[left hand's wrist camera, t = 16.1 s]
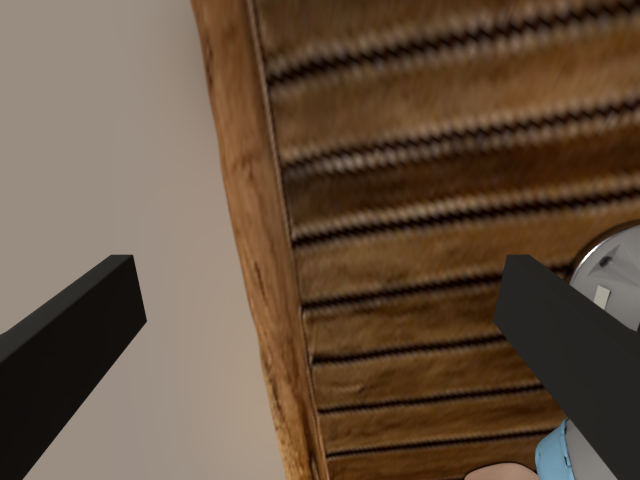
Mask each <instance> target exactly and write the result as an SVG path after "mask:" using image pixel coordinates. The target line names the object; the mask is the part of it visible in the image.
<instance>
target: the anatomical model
mask: <svg viewBox="0 0 640 480" xmlns="http://www.w3.org/2000/svg"><path fill="white" fill-rule="evenodd" d="M464 480H539V476H538V475H537V474H536V473H534V472H533V471H531V470H530V469H528V468H526V467H525V466H522V465H520V464H515V463H502V464H496V465H492V466H488V467H484V468H481V469H478V470H475V471H473V472H471V473H469V474H468V475H467V476H466V477H465V479H464Z"/></svg>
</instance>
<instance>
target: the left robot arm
mask: <svg viewBox="0 0 640 480" xmlns="http://www.w3.org/2000/svg"><path fill="white" fill-rule="evenodd" d="M146 322H147V319H146V314H145V310H144V305H143V300H142V295H141V291H140V286H139V281H138V276H137V272H136V267H135V262H134V258H133V255H110V256H109V257H107V258H106V259H105V260H103V261H102V262H101V263H99V264H98V265H96V266H95V267H94V268H92V269H91V270H90V271H88V272H87V273H86V274H84V275H83V276H82V277H80V278H79V279H77V280H76V281H75V282H73V283H72V284H71V285H69V286H68V287H67V288H65V289H64V290H62V291H61V292H60V293H58V294H57V295H56V296H54V297H53V298H52V299H50V300H49V301H47V302H46V303H45V304H43V305H42V306H41V307H39V308H38V309H37V310H35V311H34V312H33V313H31V314H30V315H29V316H27V317H26V318H24V319H23V320H22V321H20V322H19V323H18V324H16V325H15V326H14V327H12V328H11V329H9V330H8V331H7V332H5V333H3V334H1V335H0V480H23V478H24V477H25V476H26V475H27V473H28V472H29V471H30V469H31V468H32V467H33V466H34V464H35V463H36V462H37V461H38V459H39V458H40V457H41V455H42V454H43V453H44V452H45V450H46V449H47V448H48V447H49V445H50V444H51V443H52V441H53V440H54V439H55V438H56V436H57V435H58V434H59V433H60V431H61V430H62V429H63V427H64V426H65V425H66V424H67V422H68V421H69V420H70V419H71V417H72V416H73V415H74V413H75V412H76V411H77V410H78V408H79V407H80V406H81V405H82V403H83V402H84V401H85V400H86V398H87V397H88V396H89V394H90V393H91V392H92V391H93V389H94V388H95V387H96V385H97V384H98V383H99V382H100V380H101V379H102V378H103V377H104V375H105V374H106V373H107V371H108V370H109V369H110V368H111V366H112V365H113V364H114V363H115V361H116V360H117V359H118V358H119V356H120V355H121V354H122V352H123V351H124V350H125V349H126V347H127V346H128V345H129V344H130V342H131V341H132V340H133V338H134V337H135V336H136V335H137V333H138V332H139V331H140V330H141V328H142V327H143V326H144V324H145V323H146ZM493 322H494V323H495V324H496V326H497V327H498V328H499V330H500V331H501V332H502V333H503V335H504V336H505V337H506V338H507V340H508V341H509V342H510V344H511V345H512V346H513V347H514V349H515V350H516V351H517V352H518V354H519V355H520V356H521V358H522V359H523V360H524V361H525V363H526V364H527V365H528V366H529V368H530V369H531V370H532V372H533V373H534V374H535V375H536V377H537V378H538V379H539V380H540V382H541V383H542V384H543V386H544V387H545V388H546V389H547V391H548V392H549V393H550V394H551V396H552V397H553V398H554V400H555V401H556V402H557V403H558V405H559V406H560V407H561V408H562V410H563V411H564V412H565V414H566V415H567V416H568V417H569V418H566V419H565V420H563V421H562V423H561V425H560V426H559V427H558V428H557V429H555V430H554V431H553V432H551V433H550V434H549V435H548V436H546V437H545V438H544V439H542V440H541V441H540V443H539V444H538V446H537V448H536V452H535V462H536V467H537V473H538V476H539V480H640V220H637V221H632V222H628V223H625V224H621V225H619V226H616V227H614V228H612V229H610V230H608V231H606V232H604V233H603V234H601V235H600V236H598V237H597V238H595V239H594V240H593V241H591V242H590V243H589V244H588V245H587V246H586V247H585V248H583V250H582V251H581V252H580V253H579V254H578V255H577V256H576V258H575V259H574V260H573V262H572V263H571V265H570V267H569V269H568V271H567V273H566V275H565V278H564V280H563V279H561V278H560V277H559V276H557V275H556V274H554V273H553V272H552V271H550V270H549V269H548V268H546V267H545V266H544V265H542V264H541V263H539V262H538V261H537V260H535V259H534V258H533V257H531V256H530V255H507V258H506V262H505V267H504V272H503V276H502V281H501V286H500V291H499V295H498V300H497V305H496V310H495V314H494V319H493Z"/></svg>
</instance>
